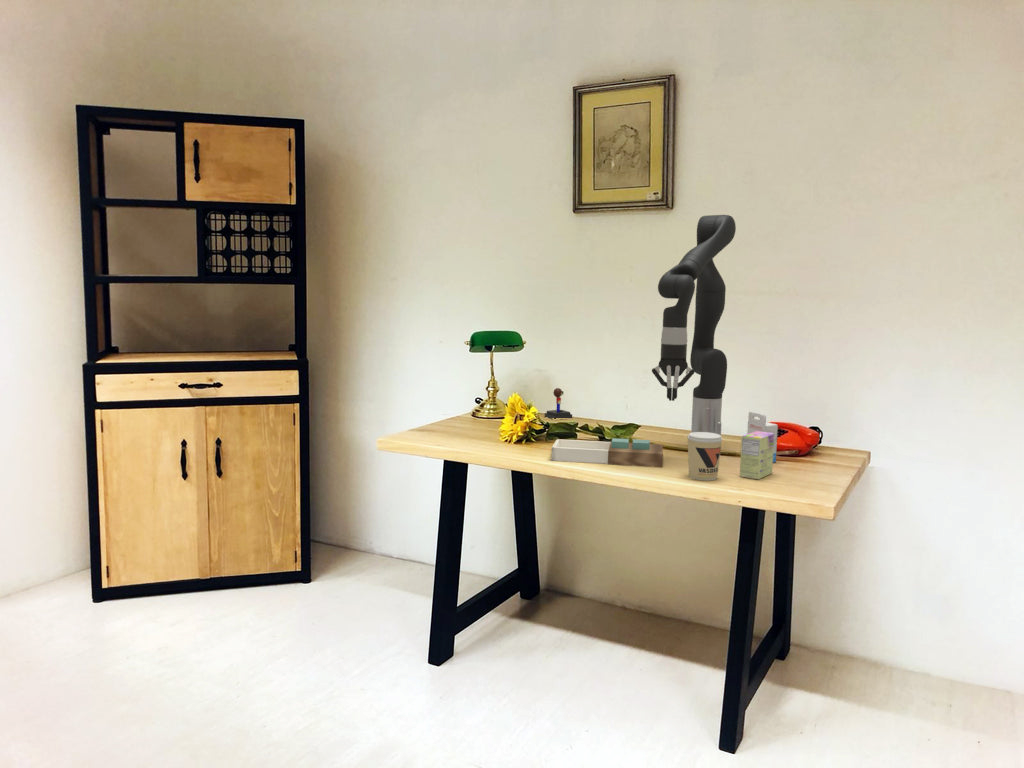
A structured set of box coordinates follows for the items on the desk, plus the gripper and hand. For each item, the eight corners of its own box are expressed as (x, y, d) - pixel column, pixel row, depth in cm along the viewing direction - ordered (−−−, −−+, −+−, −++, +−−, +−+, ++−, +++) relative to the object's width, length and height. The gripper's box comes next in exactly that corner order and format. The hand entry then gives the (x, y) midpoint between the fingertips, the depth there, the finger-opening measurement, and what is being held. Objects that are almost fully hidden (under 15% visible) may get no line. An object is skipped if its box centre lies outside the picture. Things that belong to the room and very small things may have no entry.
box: (753, 470, 222) (755, 430, 221) (772, 473, 219) (774, 433, 217) (738, 476, 214) (740, 435, 213) (758, 480, 211) (760, 438, 209)
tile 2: (649, 446, 233) (649, 440, 233) (649, 449, 228) (649, 443, 228) (632, 445, 234) (633, 439, 234) (632, 449, 229) (632, 442, 229)
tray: (610, 454, 240) (610, 441, 239) (607, 463, 227) (608, 450, 227) (556, 451, 243) (556, 439, 242) (551, 460, 230) (551, 447, 230)
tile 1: (628, 445, 234) (628, 439, 234) (628, 448, 230) (628, 442, 229) (612, 444, 235) (612, 438, 235) (611, 447, 231) (611, 441, 230)
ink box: (776, 462, 232) (779, 415, 230) (763, 463, 230) (766, 415, 228) (758, 456, 240) (760, 410, 238) (745, 457, 238) (747, 411, 236)
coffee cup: (696, 482, 207) (698, 438, 206) (679, 473, 216) (681, 432, 215) (726, 480, 210) (728, 437, 208) (709, 472, 219) (711, 431, 217)
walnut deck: (661, 456, 238) (662, 444, 237) (662, 467, 224) (663, 453, 223) (610, 454, 240) (610, 441, 240) (607, 464, 227) (608, 450, 226)
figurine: (572, 418, 304) (573, 388, 302) (554, 420, 300) (555, 389, 298) (562, 415, 310) (562, 386, 309) (544, 417, 306) (545, 387, 305)
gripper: (696, 342, 228) (693, 399, 230) (651, 341, 231) (649, 397, 233) (697, 344, 221) (695, 403, 223) (651, 342, 223) (649, 401, 225)
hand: (671, 400), depth 228 cm, fingers closed
